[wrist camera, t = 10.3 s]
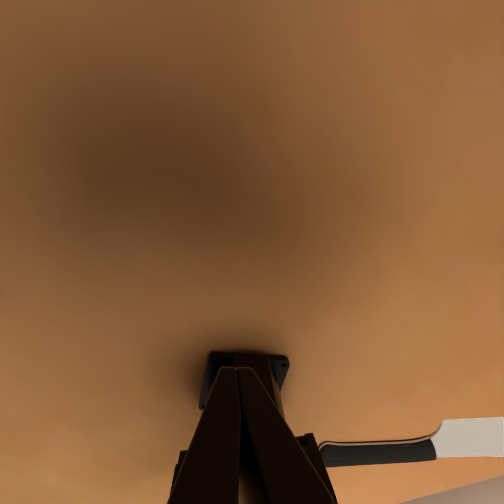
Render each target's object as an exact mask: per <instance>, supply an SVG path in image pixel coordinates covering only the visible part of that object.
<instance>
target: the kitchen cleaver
mask: <svg viewBox="0 0 504 504" xmlns="http://www.w3.org/2000/svg"><path fill="white" fill-rule="evenodd" d="M318 449H319V451H320V454H321V457H322V460H323V462H324V465H325V467H339V466H356V465H371V464H390V463H408V462H421V461H431V460H435V459H436V458H437V457H468V456H494V457H504V417H491V418H472V419H452V420H443V422H442V423H441V425H440V427H439V428H438V429H437V430H436V431H435V432H434V433H433V434H432V435H431V436H425V437H421V438H416V439H410V440H395V441H372V442H330V441H325V442H323V443H321V444H320V445H319V446H318Z"/></svg>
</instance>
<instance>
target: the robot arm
mask: <svg viewBox="0 0 504 504" xmlns="http://www.w3.org/2000/svg"><path fill="white" fill-rule="evenodd" d="M214 358H215V359H214ZM289 366H290V363H289V360H288V358H287V357H280V356H265V355H251V354H236V353H221V352H212V353H210V354H209V355H208V358H207V363H206V368H205V373H204V379H203V384H202V389H201V394H200V400H199V409H200V410H203V413H202V415H201V418H200V420H199V423H198V425H197V428H196V430H195V433H194V436H193V438H192V441H191V443H190V446H189V448H188V450H183V451H180V455H179V460H178V464H176V466H175V471H174V476H173V482H172V487H171V492H170V497H169V499H168V502H167V504H338V503H337V499H336V496H335V493H334V490H333V487H332V484H331V482H330V479H329V476H328V473H327V471H326V468H325V465H324V462H323V460H322V457H321V454H320V451H319V449H318V446H317V443H316V441H315V438H314V435H313V433H307V434H304V436H297V437H295V436H294V434H293V433H292V431H291V429H290V428H289V426H288V425H287V423H286V421H285V416H284V411H283V406H282V401H281V396H280V390H281V387H282V385H283V382H284V379H285V377H286V374H287V371H288V368H289Z"/></svg>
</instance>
